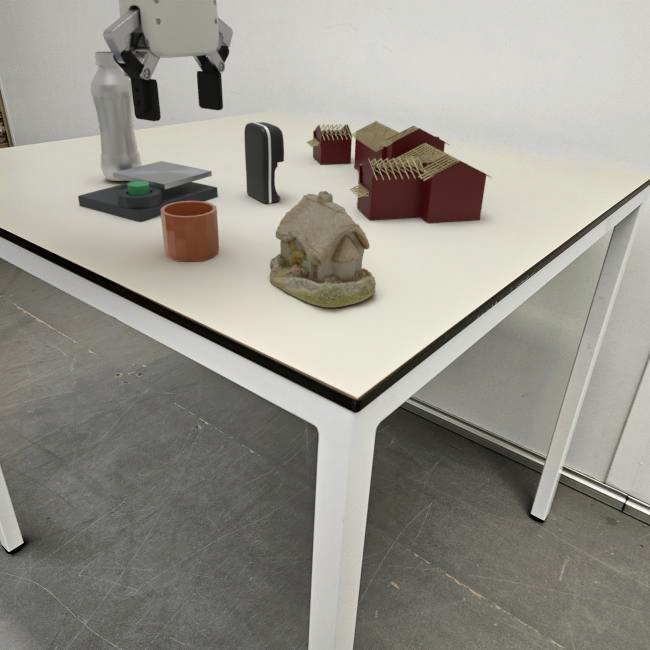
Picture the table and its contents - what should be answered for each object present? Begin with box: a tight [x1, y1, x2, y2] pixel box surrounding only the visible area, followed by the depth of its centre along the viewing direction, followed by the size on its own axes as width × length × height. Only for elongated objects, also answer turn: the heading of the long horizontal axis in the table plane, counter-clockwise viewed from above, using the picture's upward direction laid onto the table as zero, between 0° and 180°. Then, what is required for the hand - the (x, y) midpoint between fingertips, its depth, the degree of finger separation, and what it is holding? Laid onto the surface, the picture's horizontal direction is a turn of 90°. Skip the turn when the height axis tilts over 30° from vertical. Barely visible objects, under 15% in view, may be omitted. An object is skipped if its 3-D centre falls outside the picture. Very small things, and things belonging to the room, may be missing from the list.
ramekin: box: [160, 201, 220, 263], centre depth 73 cm, size 6×6×6 cm
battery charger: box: [244, 121, 285, 204], centre depth 93 cm, size 7×4×11 cm, turn 33°
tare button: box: [127, 181, 150, 196], centre depth 85 cm, size 3×3×2 cm
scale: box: [77, 181, 219, 223], centre depth 92 cm, size 16×13×3 cm
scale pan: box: [113, 160, 213, 189], centre depth 93 cm, size 10×11×1 cm
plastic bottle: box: [90, 51, 143, 182], centre depth 98 cm, size 6×7×20 cm
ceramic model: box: [269, 190, 377, 309], centre depth 65 cm, size 14×11×10 cm
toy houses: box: [306, 120, 493, 224], centre depth 103 cm, size 45×20×10 cm, turn 14°
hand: (181, 113), depth 67 cm, fingers open, 9 cm apart
